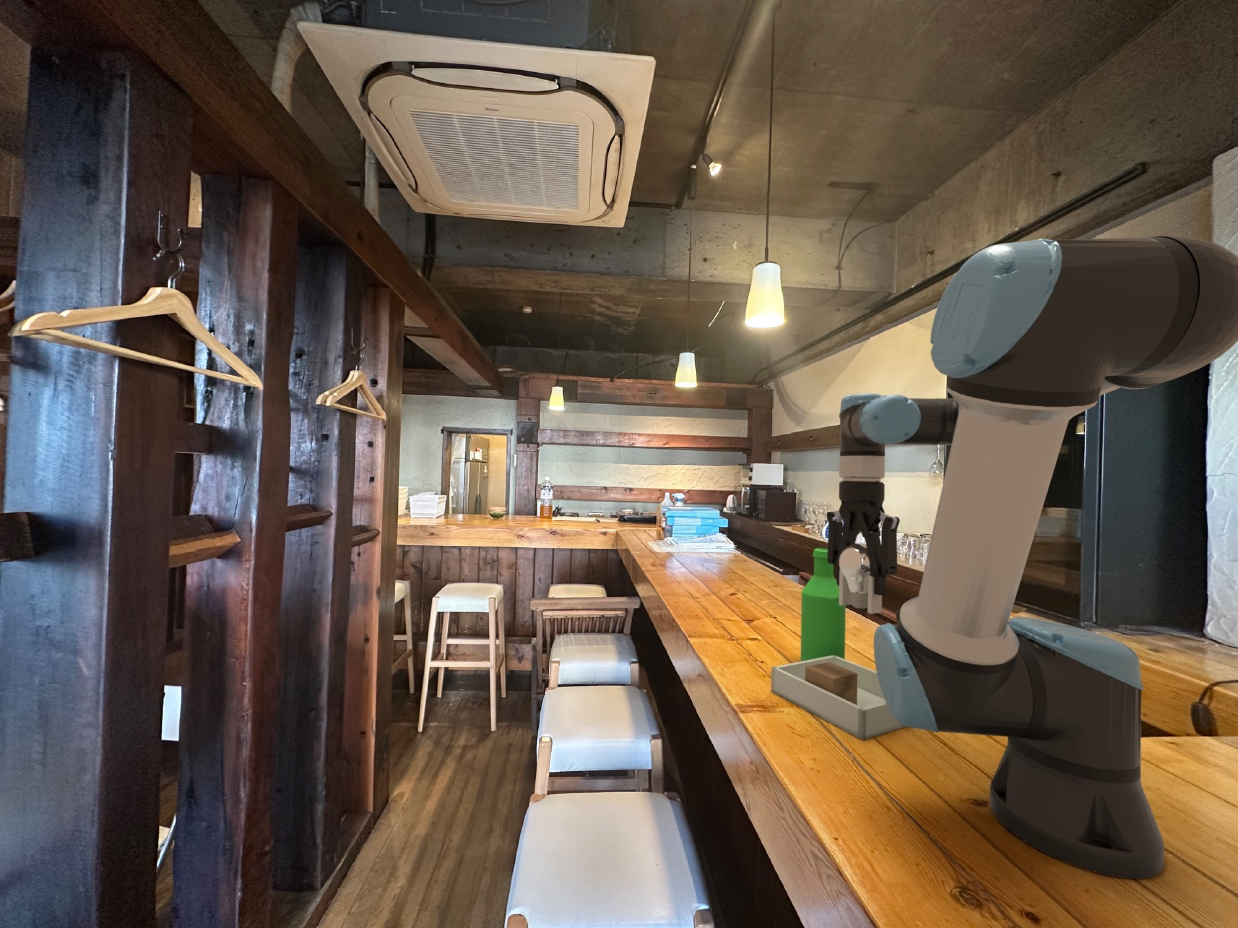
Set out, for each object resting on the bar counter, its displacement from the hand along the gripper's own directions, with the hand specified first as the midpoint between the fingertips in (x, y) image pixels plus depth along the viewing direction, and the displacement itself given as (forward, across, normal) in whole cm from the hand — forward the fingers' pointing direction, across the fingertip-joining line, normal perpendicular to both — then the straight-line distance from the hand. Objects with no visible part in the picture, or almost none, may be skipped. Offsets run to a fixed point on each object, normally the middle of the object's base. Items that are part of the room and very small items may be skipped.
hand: (859, 608), depth 94 cm
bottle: (+17, +15, -8) cm, 24 cm away
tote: (+17, 0, +3) cm, 17 cm away
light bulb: (0, 0, 0) cm, 0 cm away
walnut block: (+16, 0, +7) cm, 18 cm away
